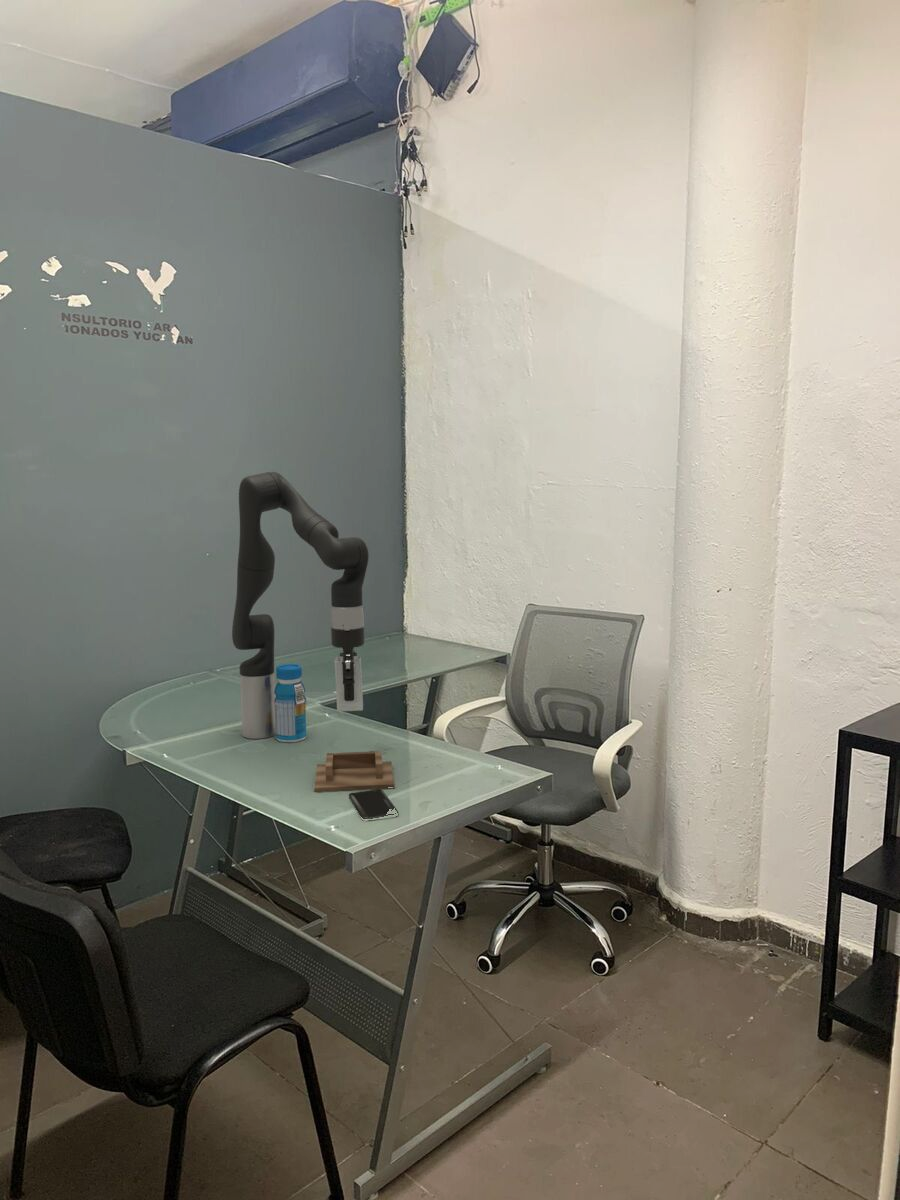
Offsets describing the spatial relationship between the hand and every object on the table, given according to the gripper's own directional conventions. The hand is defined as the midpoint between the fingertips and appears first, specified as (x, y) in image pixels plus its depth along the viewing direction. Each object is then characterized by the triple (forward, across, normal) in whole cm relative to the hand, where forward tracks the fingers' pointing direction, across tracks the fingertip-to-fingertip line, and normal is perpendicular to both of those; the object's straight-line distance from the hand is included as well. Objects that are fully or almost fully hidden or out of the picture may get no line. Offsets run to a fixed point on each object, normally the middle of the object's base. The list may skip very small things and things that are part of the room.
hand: (349, 697), depth 200 cm
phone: (+20, +18, +5) cm, 27 cm away
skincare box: (+3, 0, 0) cm, 3 cm away
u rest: (+20, 0, +1) cm, 20 cm away
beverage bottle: (+19, -33, -17) cm, 42 cm away
